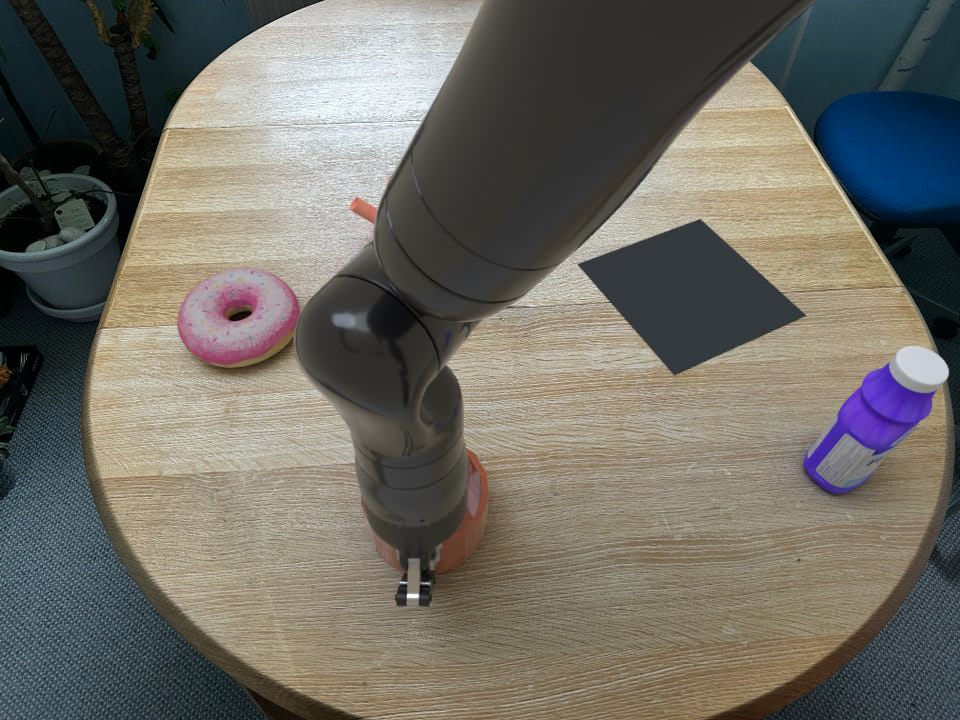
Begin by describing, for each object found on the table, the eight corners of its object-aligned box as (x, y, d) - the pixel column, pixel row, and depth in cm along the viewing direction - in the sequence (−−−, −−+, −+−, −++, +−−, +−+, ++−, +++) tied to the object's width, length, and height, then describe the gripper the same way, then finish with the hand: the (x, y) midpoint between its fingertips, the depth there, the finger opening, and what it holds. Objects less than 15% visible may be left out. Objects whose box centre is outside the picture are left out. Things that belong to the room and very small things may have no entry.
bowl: (507, 541, 63) (510, 513, 58) (397, 597, 60) (391, 572, 55) (453, 449, 69) (453, 417, 64) (350, 494, 66) (342, 464, 61)
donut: (244, 395, 73) (232, 367, 69) (159, 343, 77) (143, 314, 73) (327, 318, 80) (319, 288, 76) (245, 274, 84) (234, 244, 80)
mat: (805, 315, 82) (806, 315, 82) (674, 374, 76) (674, 374, 76) (700, 219, 93) (700, 218, 92) (577, 264, 86) (577, 263, 86)
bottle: (834, 508, 66) (931, 408, 52) (787, 467, 68) (867, 361, 55) (878, 470, 68) (981, 365, 55) (831, 431, 71) (917, 322, 58)
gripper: (464, 571, 42) (463, 648, 56) (469, 396, 51) (467, 500, 64) (345, 568, 42) (373, 646, 56) (370, 393, 51) (389, 498, 64)
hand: (423, 567), depth 60 cm, fingers closed on bowl, 1 cm apart
